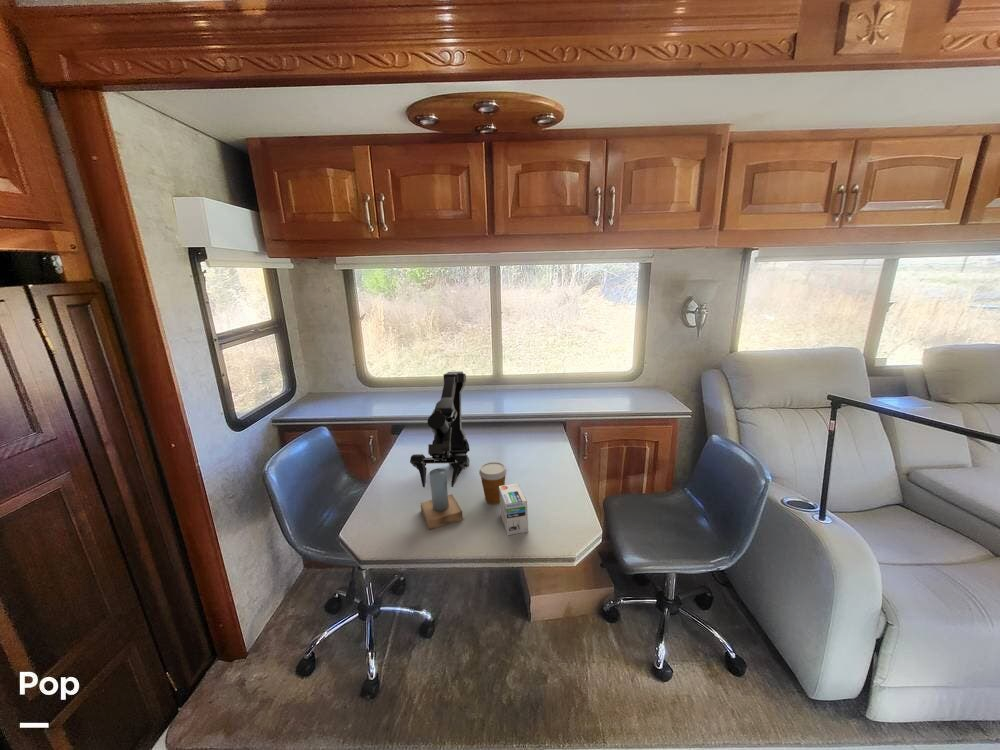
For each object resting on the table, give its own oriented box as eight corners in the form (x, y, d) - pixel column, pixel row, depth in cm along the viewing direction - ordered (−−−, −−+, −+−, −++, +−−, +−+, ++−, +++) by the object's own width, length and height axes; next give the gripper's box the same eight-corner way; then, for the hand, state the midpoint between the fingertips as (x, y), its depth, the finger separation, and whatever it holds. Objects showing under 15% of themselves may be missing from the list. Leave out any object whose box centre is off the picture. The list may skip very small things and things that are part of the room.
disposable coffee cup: (477, 495, 132) (474, 465, 129) (501, 488, 136) (500, 458, 133) (486, 510, 124) (484, 477, 121) (512, 502, 127) (511, 470, 124)
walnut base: (452, 501, 129) (451, 494, 129) (463, 519, 120) (462, 511, 119) (421, 510, 125) (420, 502, 124) (429, 529, 115) (428, 521, 115)
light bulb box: (528, 532, 112) (527, 500, 109) (507, 536, 111) (505, 504, 108) (519, 511, 122) (518, 482, 120) (499, 515, 121) (498, 485, 118)
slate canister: (441, 500, 125) (438, 466, 122) (452, 505, 122) (449, 471, 119) (429, 507, 121) (426, 473, 118) (440, 513, 118) (436, 478, 115)
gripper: (408, 432, 120) (401, 480, 112) (465, 431, 119) (462, 480, 111) (417, 443, 130) (411, 489, 122) (470, 443, 128) (468, 489, 120)
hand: (437, 487), depth 118 cm, fingers open, 9 cm apart
